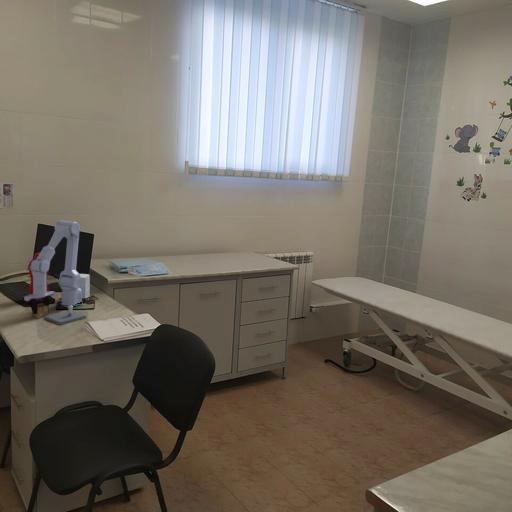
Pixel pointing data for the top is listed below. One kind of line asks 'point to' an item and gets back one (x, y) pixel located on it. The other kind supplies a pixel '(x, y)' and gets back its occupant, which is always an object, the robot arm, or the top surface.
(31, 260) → the water bottle
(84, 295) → the small box
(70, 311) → the metal post
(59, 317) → the flat gray board
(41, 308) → the wooden cubby box
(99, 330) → the top surface
